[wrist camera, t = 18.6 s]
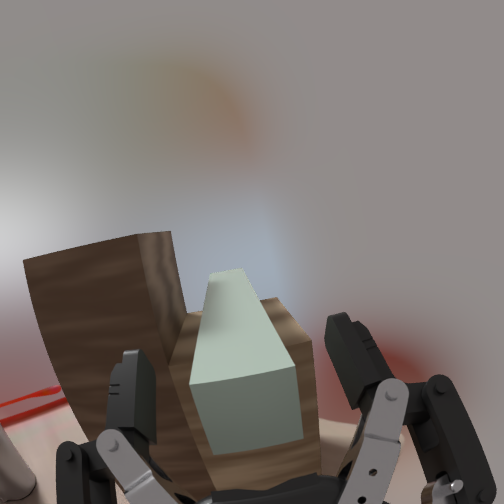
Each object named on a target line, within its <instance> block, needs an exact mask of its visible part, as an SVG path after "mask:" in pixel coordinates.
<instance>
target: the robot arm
mask: <svg viewBox="0 0 504 504" xmlns="http://www.w3.org/2000/svg"><path fill="white" fill-rule="evenodd" d="M324 339H325V346H326V349H327V352H328V354H329V356H330V359H331V361H332V363H333V366H334V368H335V370H336V373H337V375H338V377H339V380H340V382H341V384H342V387H343V389H344V391H345V394H346V397H347V399H348V401H349V404H350V406H351V409H352V410H353V409H356V408H360V410H361V413H362V414H361V417H360V420H359V423H358V426H357V429H356V431H355V434H354V437H353V440H352V442H351V445H350V448H349V450H348V452H347V454H346V456H345V458H344V460H343V462H342V464H341V467H340V469H339V471H338V474H337V476H336V477H334V476H328V475H317V472H315V473H312V474H308V475H304V476H300V477H296V478H292V479H289V480H287V481H285V482H283V483H281V484H279V485H277V486H274V487H272V488H270V489H268V490H246V489H230V490H221V491H211V495H209V496H207V497H204V498H202V499H201V500H199V501H197V500H196V499H195V498H194V497H193V496H192V495H191V494H190V493H189V492H187V491H186V490H185V489H184V488H183V487H181V486H180V485H179V484H178V483H176V482H175V481H174V480H173V479H172V478H171V477H170V476H169V474H168V473H167V472H166V471H165V470H164V469H163V468H162V467H161V466H160V465H159V463H158V462H157V461H156V460H155V459H154V458H153V457H152V455H151V454H150V453H149V445H157V432H156V374H155V370H154V368H153V366H152V364H151V363H150V361H149V360H148V358H147V357H146V355H145V353H144V352H143V350H142V349H135V350H126V351H124V353H123V359H122V363H117V364H116V365H115V367H114V369H113V370H112V372H111V376H110V384H109V385H110V387H109V395H108V403H107V414H106V426H105V430H104V431H103V432H102V433H101V434H100V435H99V436H98V438H97V439H96V440H94V441H90V442H87V443H84V444H80V445H77V444H75V443H74V442H71V441H66V442H63V443H62V444H60V445H59V447H58V449H57V452H56V495H57V504H117V498H116V489H115V478H116V479H117V480H118V481H119V483H120V484H121V485H122V487H123V488H124V490H125V492H124V495H125V497H126V499H127V500H128V501H129V503H130V504H389V503H387V502H385V501H383V500H384V497H385V494H386V492H387V489H388V486H389V484H390V481H391V478H392V475H393V472H394V469H395V466H396V462H397V459H398V456H399V452H400V448H401V443H400V442H399V436H400V432H401V428H402V425H407V427H408V430H409V432H410V435H411V437H412V440H413V443H414V446H415V448H416V451H417V454H418V456H419V459H420V462H421V465H422V468H423V471H424V474H425V477H426V480H427V483H428V484H427V485H426V486H425V487H424V489H423V491H422V493H421V504H492V503H493V501H494V499H495V497H496V485H495V482H494V479H493V476H492V473H491V470H490V467H489V464H488V462H487V459H486V456H485V454H484V451H483V449H482V446H481V444H480V441H479V439H478V436H477V434H476V432H475V429H474V427H473V425H472V423H471V420H470V418H469V416H468V413H467V411H466V409H465V407H464V405H463V403H462V401H461V399H460V397H459V395H458V393H457V391H456V389H455V387H454V385H453V383H452V381H451V380H450V379H449V378H448V377H446V376H444V375H434V376H432V377H431V378H430V379H429V380H428V381H427V382H421V383H409V384H408V383H404V382H402V381H401V380H398V379H396V378H395V377H394V375H393V374H392V372H391V370H390V369H389V367H388V365H387V363H386V361H385V359H384V357H383V356H382V354H381V352H380V350H379V348H378V347H377V345H376V343H375V341H374V340H373V338H372V336H371V334H370V332H369V330H368V329H367V328H366V327H365V326H364V325H363V324H361V323H360V322H359V321H356V322H351V320H350V318H349V316H348V315H347V313H345V312H342V313H338V314H335V315H330V316H328V318H327V324H326V331H325V337H324ZM35 482H36V481H35V475H34V473H33V472H32V470H31V469H30V468H29V466H28V465H27V463H26V462H25V461H24V459H23V458H22V457H21V455H20V454H19V452H18V451H17V449H16V448H15V446H14V445H13V443H12V442H11V440H10V438H9V437H8V435H7V434H6V432H5V430H4V429H3V427H2V425H1V423H0V498H1V499H2V500H3V501H4V502H6V501H7V500H19V499H22V498H24V497H25V496H27V495H28V494H29V493H30V492H31V491H32V490H33V488H34V486H35Z"/></svg>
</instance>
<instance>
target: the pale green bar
mask: <svg viewBox="0 0 504 504" xmlns="http://www.w3.org/2000/svg"><path fill="white" fill-rule="evenodd" d="M189 386H190V389H191V392H192V396H193V399H194V402H195V405H196V408H197V411H198V414H199V417H200V420H201V422H202V425H203V428H204V431H205V434H206V436H207V439H208V442H209V444H210V447H211V450H212V452H213V455H219V454H227V453H235V452H241V451H248V450H253V449H259V448H264V447H269V446H274V445H279V444H283V443H288V442H292V441H296V440H300V439H304V437H303V427H302V418H301V409H300V401H299V392H298V384H297V376H296V368H295V364H294V363H293V361H292V359H291V357H290V355H289V354H288V352H287V350H286V348H285V346H284V344H283V343H282V341H281V339H280V337H279V335H278V334H277V332H276V330H275V328H274V326H273V324H272V323H271V321H270V319H269V317H268V315H267V313H266V311H265V310H264V308H263V306H262V304H261V302H260V300H259V299H258V297H257V295H256V293H255V291H254V289H253V288H252V286H251V284H250V282H249V280H248V278H247V276H246V274H245V273H244V271H243V269H242V268H239V269H233V270H228V271H222V272H216V273H211V274H210V277H209V282H208V287H207V292H206V297H205V302H204V307H203V312H202V317H201V322H200V327H199V332H198V338H197V343H196V349H195V354H194V360H193V365H192V371H191V377H190V382H189Z"/></svg>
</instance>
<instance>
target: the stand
mask: <svg viewBox="0 0 504 504" xmlns="http://www.w3.org/2000/svg"><path fill="white" fill-rule="evenodd" d="M23 264H24V269H25V274H26V279H27V284H28V288H29V293H30V297H31V301H32V304H33V308H34V312H35V315H36V319H37V322H38V325H39V329H40V332H41V335H42V338H43V341H44V344H45V347H46V350H47V353H48V355H49V358H50V361H51V363H52V366H53V368H54V371H55V373H56V376H57V378H58V381H59V383H60V385H61V387H62V390H63V392H64V394H65V396H66V398H67V401H68V403H69V405H70V407H71V409H72V411H73V413H74V415H75V417H76V419H77V421H78V422H79V424H80V426H81V428H82V430H83V432H84V433H85V435H86V437H87V439H88V440H89V442H90V441H94V440H96V439H97V438H98V436H99V435H100V434H101V433H102V432H103V431H104V430H105V426H106V414H107V403H108V395H109V387H110V385H109V384H110V376H111V372H112V370H113V369H114V367H115V365H116V364H117V363H122V359H123V353H124V351H126V350H135V349H142V350H143V352H144V353H145V355H146V357H147V358H148V360H149V361H150V363H151V364H152V366H153V368H154V370H155V374H156V432H157V445H149V453H150V454H151V455H152V457H153V458H154V459H155V460H156V461H157V462H158V463H159V465H160V466H161V467H162V468H163V469H164V470H165V471H166V472H167V473H168V474H169V476H170V477H171V478H172V479H173V480H174V481H175V482H176V483H178V484H179V485H180V486H181V487H183V488H184V489H185V490H186V491H187V492H189V493H190V494H191V495H192V496H193V497H194V498H195V499H196V500H197V501H199V500H201V499H202V498H204V497H207V496H209V495H211V491H221V490H230V489H246V490H268V489H270V488H272V487H274V486H277V485H279V484H281V483H283V482H285V481H287V480H289V479H292V478H296V477H300V476H304V475H308V474H312V473H315V472H317V475H321V454H320V435H319V419H318V405H317V393H316V380H315V369H314V358H313V348H312V340H311V339H310V338H309V336H308V335H307V334H306V333H305V332H304V330H303V329H302V328H301V327H300V325H299V324H298V323H297V322H296V321H295V319H294V318H293V317H292V316H291V314H290V313H289V312H288V311H287V309H286V308H285V307H284V306H283V304H282V303H281V302H280V301H279V300H278V298H277V297H275V298H270V299H265V300H260V302H261V304H262V306H263V308H264V310H265V311H266V313H267V315H268V317H269V319H270V321H271V323H272V324H273V326H274V328H275V330H276V332H277V334H278V335H279V337H280V339H281V341H282V343H283V344H284V346H285V348H286V350H287V352H288V354H289V355H290V357H291V359H292V361H293V363H294V364H295V368H296V376H297V384H298V392H299V401H300V409H301V418H302V427H303V437H304V439H300V440H296V441H292V442H288V443H283V444H279V445H274V446H269V447H264V448H259V449H253V450H248V451H241V452H235V453H227V454H219V455H213V452H212V450H211V447H210V444H209V442H208V439H207V436H206V434H205V431H204V428H203V425H202V422H201V420H200V417H199V414H198V411H197V408H196V405H195V402H194V399H193V396H192V392H191V389H190V386H189V382H190V377H191V371H192V365H193V360H194V354H195V349H196V343H197V338H198V332H199V327H200V322H201V317H202V312H203V311H198V312H192V313H187V311H186V306H185V302H184V297H183V293H182V288H181V284H180V278H179V274H178V268H177V264H176V258H175V253H174V247H173V242H172V236H171V231H165V232H153V233H142V234H134V235H130V236H125V237H120V238H116V239H111V240H106V241H101V242H97V243H92V244H88V245H83V246H79V247H75V248H70V249H66V250H62V251H57V252H53V253H49V254H46V255H41V256H37V257H33V258H29V259H25V260H23ZM115 482H116V483H117V485H118V486H119V487H120V489H121V490H122V491H123V493H124V492H125V490H124V488H123V487H122V485H121V484H120V483H119V481H118V480H117V479H116V478H115Z"/></svg>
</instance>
